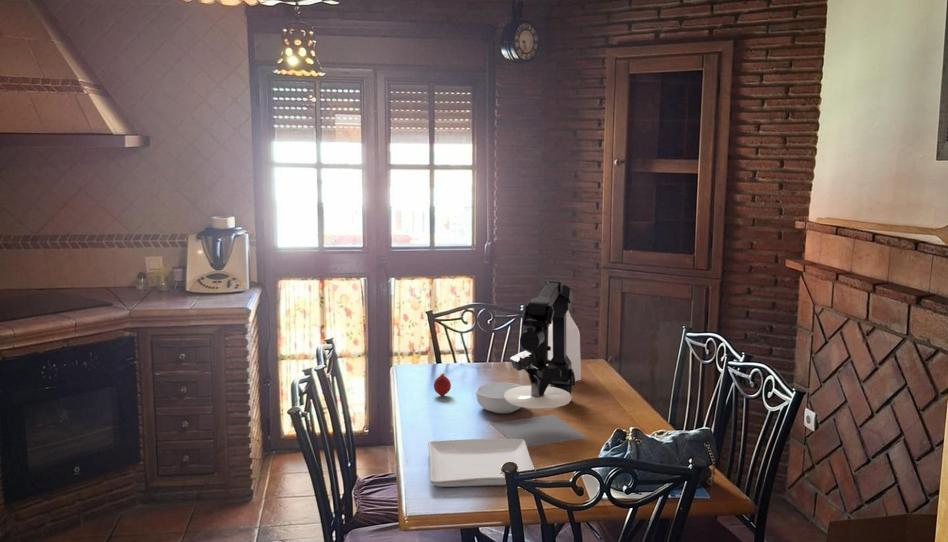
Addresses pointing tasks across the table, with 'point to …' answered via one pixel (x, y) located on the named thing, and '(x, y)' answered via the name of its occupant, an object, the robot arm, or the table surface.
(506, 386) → the cereal bowl
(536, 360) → the robot arm
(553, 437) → the mat
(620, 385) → the table surface
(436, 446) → the square plate
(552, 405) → the lid
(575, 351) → the milk
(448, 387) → the onion
